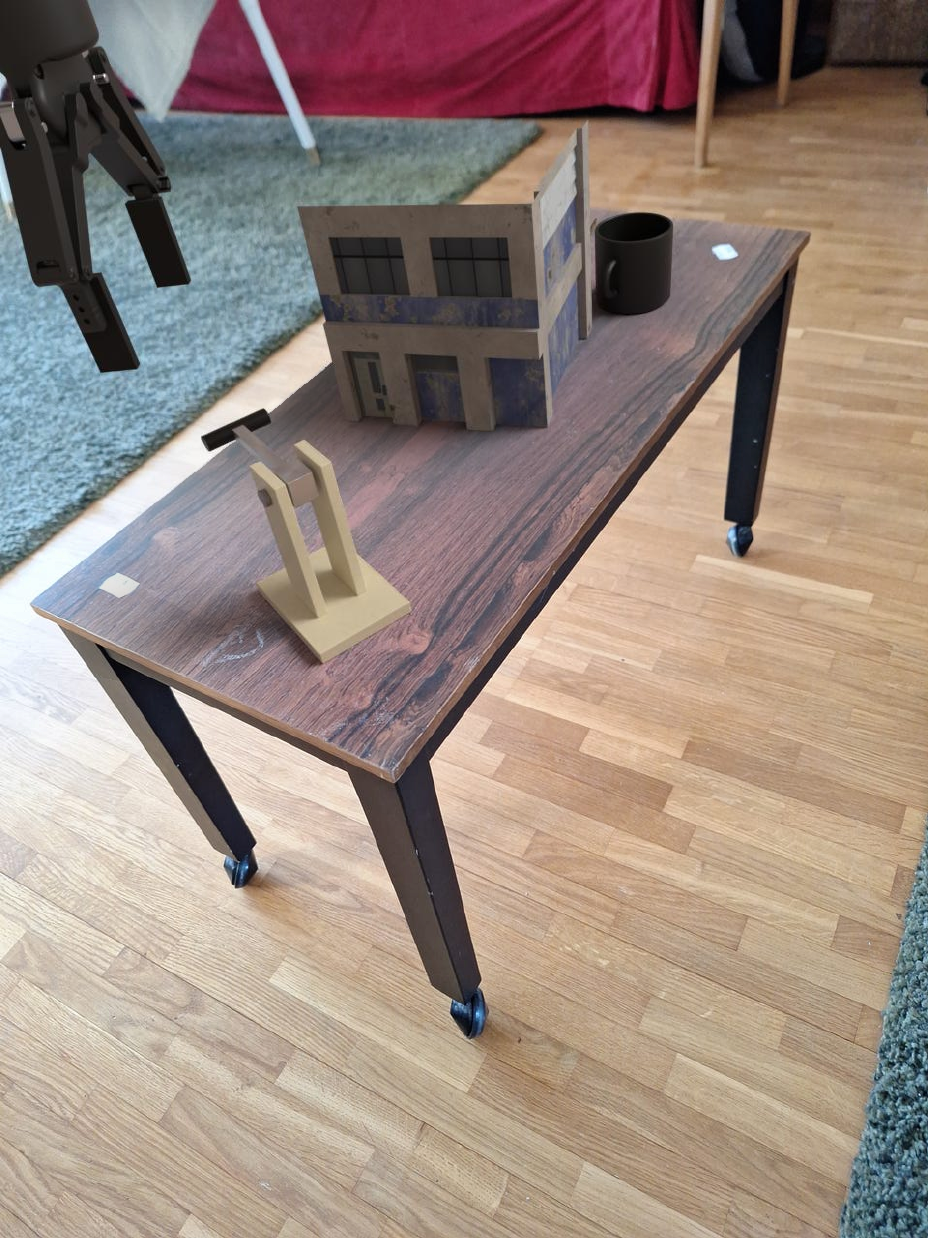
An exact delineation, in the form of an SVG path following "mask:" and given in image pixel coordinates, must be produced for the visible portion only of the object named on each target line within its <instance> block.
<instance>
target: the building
mask: <svg viewBox="0 0 928 1238" xmlns="http://www.w3.org/2000/svg"><path fill="white" fill-rule="evenodd" d="M589 138H590V137H589V119H587V120H586V121H585V123H584V125H583V126H582V127H581V128H580V127H579V128H578V127H577V128H575V130H574V132H573V133H572V135H571V136H570V138H569V139H568V140H567V142H566V143H565V144H564V146H563V148H561V150H560V152H559V153H558V155H557V156H556V158H555V159H554V160H553V162H552V164H551V165H550V167H549V168H548V170H547V171H546V173H545V174H544V175H543V177H542V179H541V180H540V182H538V184H537V186H536V187H535V189H534V190H533V201H532V202H531V203H479V204H478V203H477V204H476V203H475V204H473V203H470V204H390V205H389V204H387V205H386V204H385V205H384V204H383V205H381V204H380V205H300V206H299V205H297V206H296V208H297V212H298V216H299V220H300V223H301V224H300V225H301V227H302V231H303V236H304V240H305V244H306V248H307V252H308V256H309V260H310V264H311V268H312V272H313V277H314V280H315V284H316V289H317V292H318V296H319V300H320V304H321V308H322V313H323V317H324V323H322V327H323V332H324V335H325V339H326V344H327V347H328V351H329V355H330V359H331V363H332V367H333V371H334V375H335V379H336V382H337V387H338V392H339V395H340V399H341V403H342V406H343V411H344V415H345V419H346V421H347V422H359V421H360V420H361V418H362V417H364V418H365V417H378V418H391V419H392V423H393V425H402V426H415V427H417V426H419V424H420V423H421V421H422V420H438V421H451V422H452V421H454V422H465V426H466V430H468V431H469V430H470V431H471V430H472V431H483V432H484V431H485V432H493V431H494V429H495V427H496V425H507V426H508V425H510V426H523V427H524V426H525V427H535V428H536V427H538V428H549V426H550V425H551V421H552V419H553V417H554V415H553V397H554V395H555V393H556V391H557V388H558V387H559V384H560V382H561V379H562V377H563V375H564V373H565V371H566V369H567V367H568V365H569V362H570V360H571V358H572V356H573V353H574V351H575V349H576V347H577V345H578V342H579V340H580V339H586V340H587V339H588V338H589V336H590V333H591V331H592V328H593V307H592V306H593V305H592V304H593V303H592V253H591V236H590V227H591V199H590V197H591V196H590V195H591V194H590V193H591V191H590V147H589V146H590V145H589V143H590V142H589Z"/></svg>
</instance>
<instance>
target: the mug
mask: <svg viewBox="0 0 928 1238" xmlns="http://www.w3.org/2000/svg"><path fill="white" fill-rule="evenodd" d="M673 242H674V223H673V221H672V219H670V218H669V217H667V216H665V215H663V214H660V213H655V212H647V211H646V212H645V211H637V212H626V213H621V214H616V215H614V216H613V215H612V216H610V217H608V218H606V219H603V220H601V221H600V222H599V223H598V224H596V225H595V227H594V266H595V267H594V268H595V271H594V274H595V278H594V279H595V301H596V303H597V305H598V306H599V307H600V308H602V309H603V310H605V311H608V312H610V313H613V314H623V315H633V314H642V313H648V312H651V311H655V310H657V309H659V308H660V307H662V306H664V305H665V304H666V303H667V302H668V300H669V298H670V296H671V289H672V286H671V285H672V267H673V266H672V263H673V244H674V243H673Z"/></svg>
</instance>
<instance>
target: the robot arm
mask: <svg viewBox="0 0 928 1238" xmlns="http://www.w3.org/2000/svg"><path fill="white" fill-rule="evenodd" d="M99 39H100V33H99V28H98V25H97V23H96V21H95V17H94V15H93V12H92V9H91V7H90V4H89V1H88V0H0V74H1V75H2V76H3V77H4V78H5V80H6V84H7V88H8V90H9V94H10V100H3V101H0V152H1V156H2V160H3V165H4V168H5V174H6V177H7V182H8V186H9V190H10V194H11V199H12V203H13V207H14V211H15V216H16V219H17V223H18V229H19V232H20V237H21V240H22V245H23V250H24V253H25V257H26V262H27V267H28V271H29V274H30V278H31V282H32V283H33V284H34V286H36V287H38V288H44V287H52V286H57V287H58V288H59V289H60V290H61V292H62V294H63V296H64V298H65V300H66V303H67V305H68V306H69V309H70V311H71V314H72V316H73V317H74V319H75V321H76V324H77V326H78V328H79V330H80V333H81V334H82V336H83V338H84V339H83V340H84V341H85V343H86V345H87V347H88V350H89V351H90V354H91V357H92V358H93V361H94V362H95V364H96V366H97V369H98V371H99V372H100V374H104V373H115V372H116V373H117V372H125V371H136V370H139V367H140V366H141V362H140V359H139V358H138V357H139V356H138V355H137V352H136V349H135V348H134V346H133V343H132V341H131V338H130V336H129V334H128V331H127V329H126V327H125V324H124V322H123V320H122V317H121V315H120V312H119V310H118V308H117V305H116V303H115V301H114V298H113V296H112V294H111V291H110V289H109V287H108V284H107V281H106V280H105V277H104V275H103V272H102V271H100V272H93V263H92V262H93V261H92V253H91V252H92V251H91V242H90V241H91V240H90V232H89V225H88V223H89V221H88V214H87V213H88V212H87V203H86V195H85V194H86V193H85V184H84V173H85V172H86V171H87V170H88V169H89V165H90V160H89V154H90V155H91V156H92V157H93V158H94V159H95V160H96V161H97V163H98V164H99V165H100V166H101V167H102V168H103V169H104V170H105V171H106V173H107V174H108V175H109V176H110V177H111V178H112V179H113V180H114V182H115V183H116V184H117V185H118V187H120V188H121V189H122V191H124V193H125V194H126V195H127V196H128V197H129V198H134V199H130V200H127V201H126V202H125V203H124V207H125V209H126V211H127V214H128V217H129V219H130V222H131V224H132V227H133V229H134V232H135V235H136V237H137V240H138V242H139V245H140V248H141V250H142V253H143V255H144V258H145V260H146V263H147V265H148V269H149V271H150V273H151V275H152V276H151V277H152V279H153V282H154V284H155V286H156V289H159V288H160V289H161V288H169V287H170V288H171V287H177V286H188V285H190V284H191V282H192V278H191V275H190V272H189V270H188V267H187V264H186V261H185V258H184V256H183V253H182V250H181V247H180V244H179V242H178V238H177V235H176V233H175V230H174V228H173V227H174V226H173V224H172V222H171V219H170V217H169V213H168V211H167V208H166V205H165V202H164V200H163V197H162V196H160V195H159V194H164V193H165V194H166V193H171V192H172V182H171V179H170V177H169V176H168V175H166V167H165V166H166V165H165V164H164V162H163V160H162V158H161V156H160V154H159V152H158V151H157V148H156V147H155V146H154V144H153V142H152V140H151V138H150V137H149V135H148V133H147V131H146V129H145V128H144V126H143V124H142V123H141V120H140V119H139V117H138V115H137V114H136V111H135V110H134V108H133V106H132V104H131V103H130V101H129V99H128V97H127V96H126V94H125V92H124V91H123V89H122V87H121V85H120V83H119V81H118V80H117V76H116V75H115V72H114V70H113V67H112V65H111V63H110V59H109V57H108V54H107V53H106V51H105V49H104V48H103V46H102V45H100V46H96V45H97V44H98V42H99ZM144 158H145V159H144Z"/></svg>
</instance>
